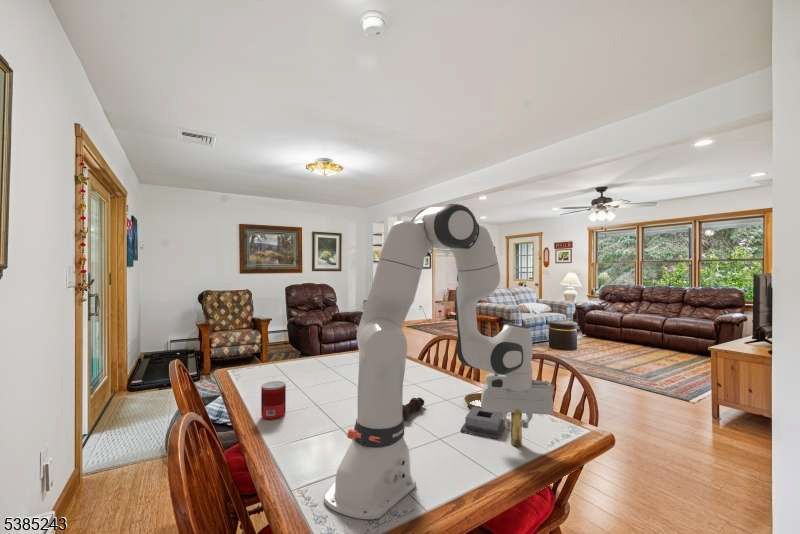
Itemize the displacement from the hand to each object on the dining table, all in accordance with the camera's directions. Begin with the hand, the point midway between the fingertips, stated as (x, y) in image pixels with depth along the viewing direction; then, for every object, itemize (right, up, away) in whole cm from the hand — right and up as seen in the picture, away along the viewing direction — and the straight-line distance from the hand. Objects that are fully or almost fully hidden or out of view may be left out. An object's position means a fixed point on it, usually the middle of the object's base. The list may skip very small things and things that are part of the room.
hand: (516, 426), depth 107 cm
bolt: (-30, -6, +23) cm, 38 cm away
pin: (0, -5, 0) cm, 5 cm away
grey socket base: (-7, -5, +12) cm, 15 cm away
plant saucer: (-2, -6, +30) cm, 31 cm away
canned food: (-78, -5, +20) cm, 81 cm away
